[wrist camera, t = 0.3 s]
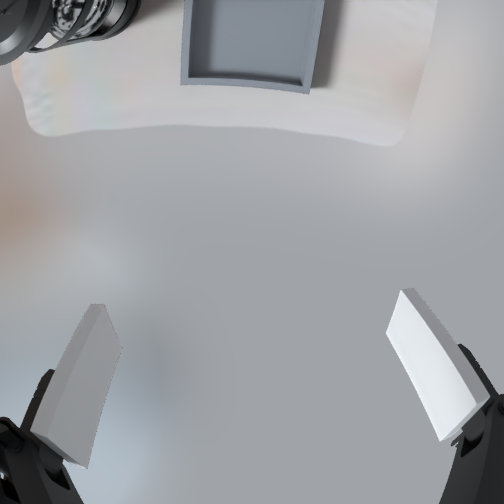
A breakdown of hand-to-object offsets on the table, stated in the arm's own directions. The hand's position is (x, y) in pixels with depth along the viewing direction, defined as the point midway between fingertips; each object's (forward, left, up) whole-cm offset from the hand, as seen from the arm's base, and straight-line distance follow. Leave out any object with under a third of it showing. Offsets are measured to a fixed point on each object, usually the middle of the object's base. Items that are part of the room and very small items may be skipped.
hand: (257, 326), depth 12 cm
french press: (+2, -24, -27) cm, 37 cm away
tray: (-7, -9, -27) cm, 29 cm away
